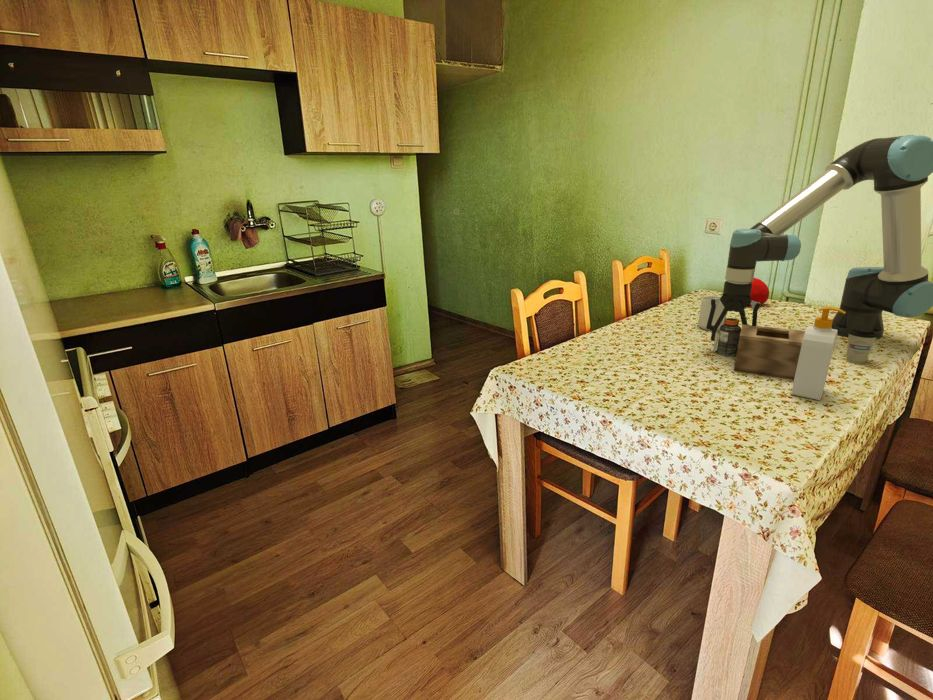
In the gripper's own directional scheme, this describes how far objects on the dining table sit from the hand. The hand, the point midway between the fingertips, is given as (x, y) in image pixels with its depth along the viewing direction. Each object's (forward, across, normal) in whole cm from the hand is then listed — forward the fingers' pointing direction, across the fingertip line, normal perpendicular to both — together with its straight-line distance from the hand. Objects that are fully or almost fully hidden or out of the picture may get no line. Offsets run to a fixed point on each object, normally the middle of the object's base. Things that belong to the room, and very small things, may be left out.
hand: (727, 352), depth 155 cm
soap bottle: (+1, -21, +23) cm, 31 cm away
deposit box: (0, -11, +9) cm, 14 cm away
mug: (0, +7, -28) cm, 29 cm away
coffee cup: (0, -34, -9) cm, 35 cm away
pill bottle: (+1, 0, 0) cm, 1 cm away
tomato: (0, -3, -69) cm, 69 cm away
